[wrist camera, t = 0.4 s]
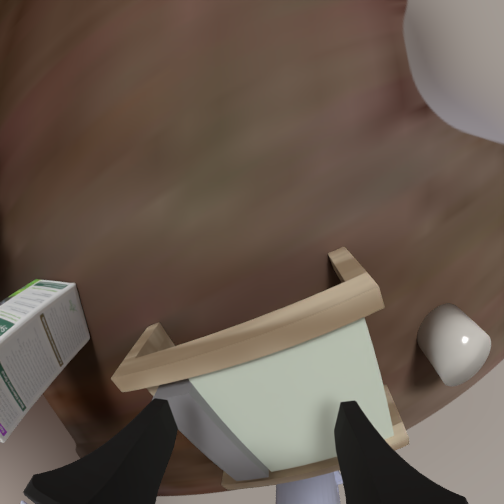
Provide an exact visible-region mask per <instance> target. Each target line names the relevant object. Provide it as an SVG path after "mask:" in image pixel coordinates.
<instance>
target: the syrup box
mask: <svg viewBox="0 0 504 504" xmlns="http://www.w3.org/2000/svg"><path fill="white" fill-rule="evenodd" d="M89 339H90V335H89V331H88V327H87V324H86V320H85V317H84V313H83V310H82V306H81V302H80V299H79V295H78V291H77V287H76V284H75V283H66V282H59V281H49V280H38V279H35V280H34V281H32V282H31V283H29V284H27V285H26V286H24V287H23V288H21V289H20V290H18V291H16V292H15V293H13V294H12V295H10V296H9V297H7V298H6V299H4V300H3V301H1V302H0V442H3V443H4V442H5V441H6V440H7V438H8V437H9V435H10V434H11V433H12V431H13V430H14V429H15V428H16V426H17V425H18V424H19V422H20V421H21V420H22V418H23V417H24V416H25V415H26V413H27V412H28V411H29V410H30V408H31V407H32V406H33V405H34V404H35V402H36V401H37V400H38V399H39V397H40V396H41V395H42V394H43V392H44V391H45V390H46V389H47V388H48V387H49V385H50V384H51V383H52V382H53V380H54V379H55V378H56V377H57V376H58V375H59V373H60V372H61V371H62V370H63V369H64V368H65V366H66V365H67V364H68V363H69V362H70V361H71V360H72V359H73V357H74V356H75V355H76V354H77V353H78V352H79V351H80V350H81V348H82V347H83V346H84V345H85V344H86V343H87V342H88V341H89Z"/></svg>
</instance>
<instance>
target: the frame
mask: <svg viewBox="0 0 504 504" xmlns="http://www.w3.org/2000/svg"><path fill="white" fill-rule="evenodd" d="M328 256H329V258H330V261H331V263H332V266H333V269H334V271H335V272H336V274H337V276H338V277H339V279H340V281H341V284H339V285H336V286H334V287H332V288H330V289H327V290H325V291H323V292H320V293H318V294H315V295H313V296H311V297H308V298H306V299H303V300H301V301H299V302H296V303H294V304H291V305H289V306H286V307H284V308H281V309H279V310H276V311H273V312H271V313H268V314H266V315H263V316H260V317H258V318H255V319H253V320H250V321H247V322H244V323H242V324H239V325H236V326H233V327H231V328H228V329H225V330H222V331H219V332H217V333H214V334H211V335H208V336H205V337H202V338H199V339H196V340H193V341H190V342H187V343H184V344H181V345H178V346H175V345H174V344H173V342H172V341H171V339H170V338H169V336H168V335H167V333H166V332H165V330H164V329H163V327H162V326H161V324H160V322H159V323H156V324H154V325H151V326H148V327H147V329H146V330H145V331H144V333H143V334H142V335H141V337H140V338H139V340H138V341H137V342H136V344H135V345H134V346H133V348H132V349H131V351H130V352H129V353H128V355H127V356H126V358H125V359H124V360H123V362H122V363H121V365H120V366H119V367H118V369H117V370H116V372H115V373H114V375H113V376H112V377H111V379H112V381H113V382H114V383H115V384H116V386H117V387H118V388H119V389H120V390H121V392H127V391H132V390H138V389H143V388H147V389H148V390H149V392H150V393H151V394H152V395H153V396H154V395H155V393H156V391H157V389H158V387H159V385H162V384H166V383H171V382H175V381H179V380H183V379H187V378H191V377H195V376H199V375H203V374H207V373H210V372H214V371H217V370H221V369H224V368H228V367H231V366H235V365H238V364H241V363H244V362H248V361H251V360H254V359H257V358H260V357H263V356H266V355H269V354H272V353H275V352H278V351H281V350H283V349H286V348H289V347H292V346H295V345H297V344H300V343H303V342H305V341H308V340H310V339H313V338H316V337H318V336H321V335H323V334H326V333H328V332H331V331H333V330H335V329H338V328H340V327H343V326H345V325H347V324H350V323H352V322H354V321H356V320H359V319H361V318H363V317H365V316H368V315H370V314H372V313H374V312H376V311H378V310H381V309H383V308H385V307H384V303H383V300H382V296H381V293H380V289H379V286H378V285H377V284H376V282H375V281H374V280H373V279H372V278H371V276H370V275H369V274H368V273H367V272H366V271H365V270H364V268H363V267H362V266H361V265H360V264H359V263H358V261H357V260H356V259H355V258H354V257H353V256H352V255H351V254H350V252H349V251H348V250H347V249H346V248H345V247H342V248H339V249H337V250H335V251H333V252H330V253H328ZM384 391H385V395H386V399H387V403H388V408H389V412H390V417H391V422H392V427H393V432H394V436H392V437H389V438H387V439H384V440H385V441H386V442H387V443H388V444H389V445H390V446H391V447H392V449H393V450H394V451H395V450H397V449H399V448H402V447H404V446H406V445H408V444H409V437H408V435H407V432H406V430H405V427H404V425H403V422H402V420H401V418H400V415H399V413H398V410H397V408H396V406H395V403H394V401H393V399H392V396H391V394H390V392H389V390H388V387H387V385H384ZM339 470H340V467H339V463H338V458H337V456H336V457H333V458H330V459H326V460H322V461H319V462H315V463H311V464H307V465H303V466H298V467H294V468H289V469H284V470H279V471H273V472H271V471H270V470H269V477H266V478H260V479H252V480H243V481H236V480H234V479H233V478H232V477H231V476H229V475H228V474H227V473H226V472H223V477H222V483H221V485H222V486H223V487H225V488H226V489H228V490H232V489H244V488H253V487H262V486H269V485H276V484H282V483H288V482H293V481H298V480H303V479H307V478H312V477H316V476H320V475H324V474H328V473H331V472H335V471H339Z"/></svg>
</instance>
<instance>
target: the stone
mask: <svg viewBox="0 0 504 504" xmlns="http://www.w3.org/2000/svg"><path fill="white" fill-rule="evenodd" d="M417 342H418V345H419V347H420V348H421V350H422V351H423V353H424V354H425V355H426V357H427V358H428V360H429V361H430V363H431V364H432V366H433V367H434V369H435V370H436V372H437V373H438V375H439V376H440V378H441V379H442V381H443V382H444V384H446V385H447V386H457V385H460V384H462V383H464V382H466V381H467V380H469V379H470V378H471V377H473V376H474V375H475V374H476V373H477V372H478V371H479V369H480V368H481V367H482V366H483V364H484V363H485V361H486V359H487V357H488V355H489V352H490V348H491V340H490V337H489V336H488V335H487V334H486V333H485V332H484V331H483V330H482V329H481V328H480V327H479V326H478V325H477V324H476V323H475V322H473V321H472V320H471V319H470V318H469V317H468V316H467V315H466V314H465V313H464V312H463V311H461V310H460V309H459V308H458V307H457V306H456V305H454V304H450V303H448V304H443V305H440V306H438V307H436V308H435V309H434V310H432V311H431V312H430V313H429V314H428V315H427V316H426V317H425V319H424V320H423V322H422V323H421V325H420V328H419V330H418V334H417Z"/></svg>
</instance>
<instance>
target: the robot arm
mask: <svg viewBox="0 0 504 504" xmlns="http://www.w3.org/2000/svg"><path fill="white" fill-rule="evenodd" d="M177 430H178V427H177V424H176V422H175V419H174V416H173V414H172V411H171V408H170V405H169V403H168V400H164V399H157V398H154V399H153V400H152V401H151V402H150V403H149V404H148V405H147V406H146V407H145V408H144V409H143V410H142V411H141V412H140V413H139V414H138V415H137V416H136V417H135V418H134V419H133V420H132V421H131V422H130V423H129V424H128V425H127V426H126V427H124V428H123V429H122V430H121V431H120V432H119V433H118V434H116V435H115V436H114V437H113V438H111V439H110V440H109V441H108V442H106V443H105V444H104V445H102V446H101V447H99V448H98V449H96V450H95V451H93V452H92V453H90V454H88V455H86V456H85V457H83V458H81V459H79V460H77V461H75V462H73V463H71V464H68V465H66V466H63V467H61V468H58V469H55V470H52V471H48V472H44V473H41V474H36V475H34V476H33V477H32V479H31V480H30V482H29V484H28V485H27V487H26V488H25V490H24V495H25V496H27V497H28V498H29V499H30V500H31V501H33V502H34V503H35V504H155V502H156V497H157V493H158V489H159V486H160V483H161V480H162V477H163V475H164V472H165V469H166V467H167V464H168V461H169V459H170V456H171V453H172V451H173V448H174V444H175V439H176V435H177ZM334 437H335V447H336V454H337V458H338V463H339V467H340V471H341V474H340V472H339V471H335V472H331V473H328V474H324V475H320V476H316V477H312V478H307V479H303V480H298V481H293V482H288V483H282V484H276V504H340V497H339V489H338V484H342V483H343V485H344V489H345V496H346V504H468V502H467V500H466V498H465V497H463V496H460V495H458V494H456V493H453V492H451V491H449V490H447V489H445V488H443V487H441V486H440V485H438V484H436V483H434V482H433V481H431V480H430V479H428V478H427V477H425V476H424V475H422V474H421V473H419V472H418V471H417V470H416V469H414V468H413V467H412V466H410V465H409V464H408V463H407V462H406V461H405V460H404V459H403V458H401V457H400V456H399V455H398V454H397V453H396V452H395V451H394V450H393V449H392V447H391V446H390V445H389V444H388V443H387V442H386V441H385V440H384V439H383V437H382V436H381V435H380V434H379V432H378V431H377V430H376V429H375V427H374V426H373V425H372V423H371V422H370V421H369V419H368V418H367V417H366V415H365V414H364V412H363V411H362V409H361V408H360V406H359V405H358V403H357V402H356V401H355V400H354V401H345V402H340V407H339V411H338V416H337V420H336V424H335V428H334ZM20 504H27V503H26V502H25V501H21V503H20Z"/></svg>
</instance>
